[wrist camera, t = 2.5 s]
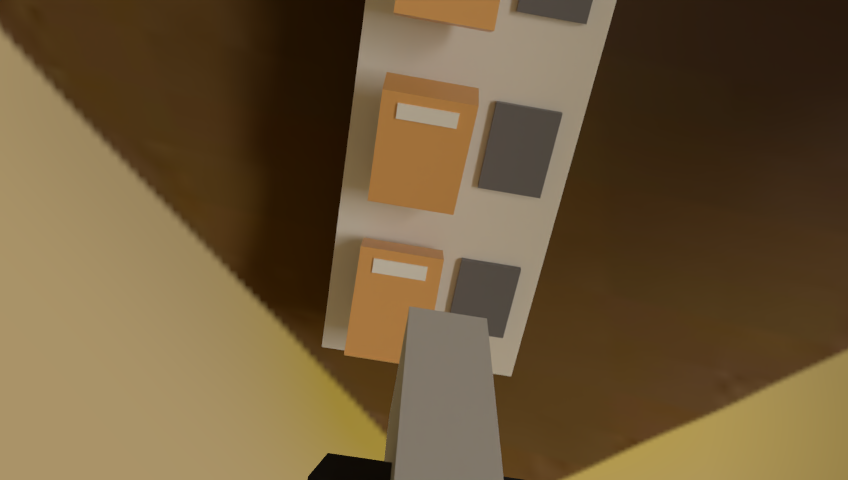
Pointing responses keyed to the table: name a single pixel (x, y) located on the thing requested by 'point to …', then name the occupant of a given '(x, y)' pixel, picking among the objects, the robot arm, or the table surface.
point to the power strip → (475, 155)
